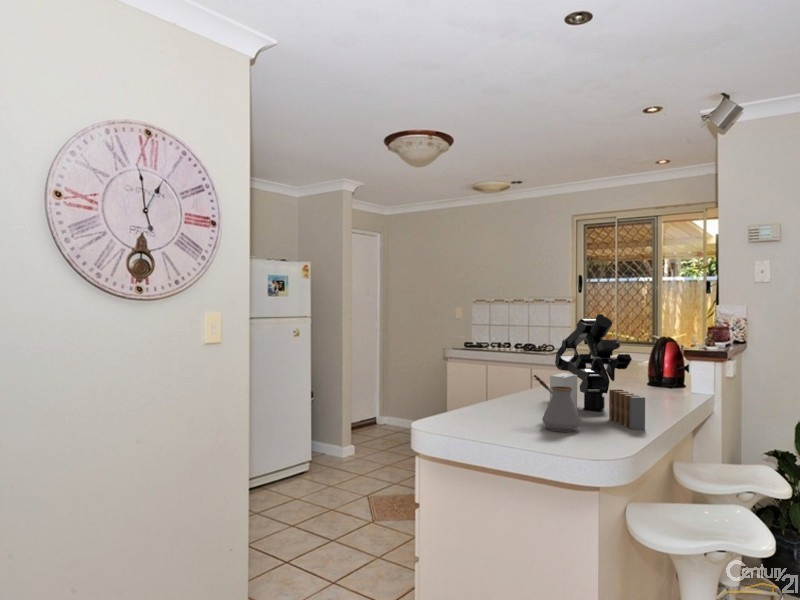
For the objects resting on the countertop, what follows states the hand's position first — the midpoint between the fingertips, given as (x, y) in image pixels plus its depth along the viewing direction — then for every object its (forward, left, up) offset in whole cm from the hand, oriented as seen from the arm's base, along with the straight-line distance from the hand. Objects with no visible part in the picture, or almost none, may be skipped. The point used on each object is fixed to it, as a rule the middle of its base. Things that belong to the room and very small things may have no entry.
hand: (610, 380), depth 187 cm
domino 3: (+6, -9, -13) cm, 17 cm away
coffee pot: (-15, -24, -13) cm, 31 cm away
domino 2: (+4, -6, -13) cm, 15 cm away
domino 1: (+2, -4, -13) cm, 13 cm away
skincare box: (-14, -10, -13) cm, 21 cm away
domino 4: (+8, -12, -13) cm, 19 cm away
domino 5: (+9, -15, -13) cm, 22 cm away
